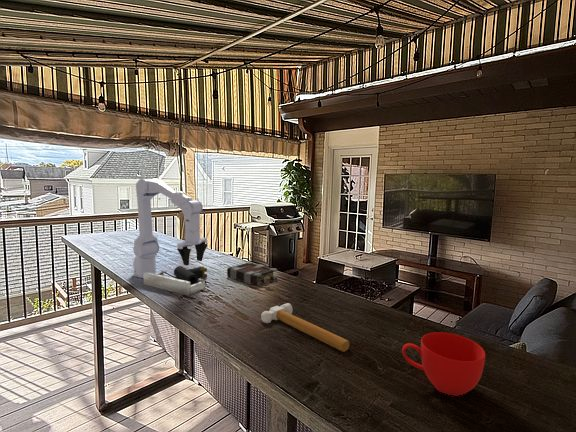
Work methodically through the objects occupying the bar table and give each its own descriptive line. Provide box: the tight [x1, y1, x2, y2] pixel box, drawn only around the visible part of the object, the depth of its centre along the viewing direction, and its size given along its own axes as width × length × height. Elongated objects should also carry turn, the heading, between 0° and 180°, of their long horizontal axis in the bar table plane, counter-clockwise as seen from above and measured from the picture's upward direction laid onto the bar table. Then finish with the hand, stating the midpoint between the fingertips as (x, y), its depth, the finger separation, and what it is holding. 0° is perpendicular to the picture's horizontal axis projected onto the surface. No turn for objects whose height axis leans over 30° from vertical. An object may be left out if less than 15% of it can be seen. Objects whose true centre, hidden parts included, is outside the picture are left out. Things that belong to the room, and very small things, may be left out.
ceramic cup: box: [401, 331, 486, 397], centre depth 76 cm, size 13×17×10 cm
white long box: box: [143, 270, 206, 297], centre depth 139 cm, size 25×10×5 cm, turn 61°
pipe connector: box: [173, 265, 208, 286], centre depth 149 cm, size 12×5×15 cm
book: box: [226, 261, 278, 286], centre depth 150 cm, size 15×25×5 cm, turn 50°
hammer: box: [260, 302, 350, 353], centre depth 102 cm, size 12×4×30 cm
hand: (193, 262), depth 138 cm, fingers open, 7 cm apart
